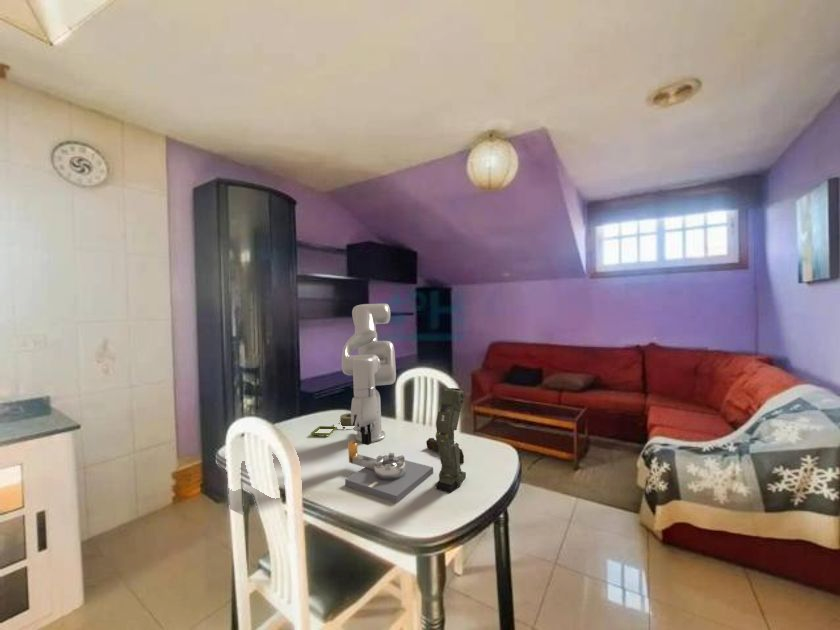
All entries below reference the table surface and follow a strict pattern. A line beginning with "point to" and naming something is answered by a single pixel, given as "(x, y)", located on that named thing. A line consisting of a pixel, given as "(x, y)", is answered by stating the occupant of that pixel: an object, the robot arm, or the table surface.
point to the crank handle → (379, 463)
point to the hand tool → (433, 445)
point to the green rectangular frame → (323, 428)
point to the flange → (345, 419)
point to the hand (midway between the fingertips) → (366, 443)
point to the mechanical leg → (449, 440)
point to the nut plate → (390, 481)
